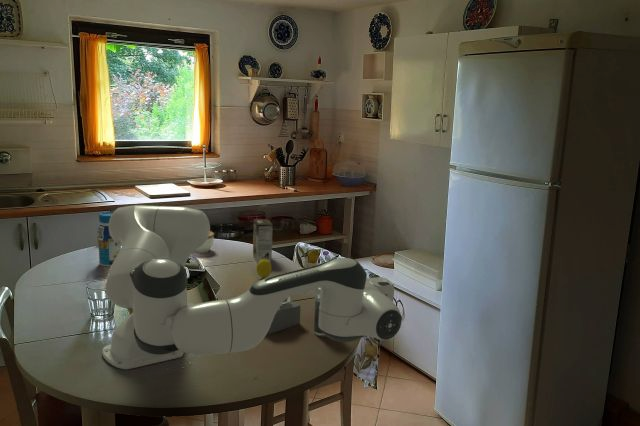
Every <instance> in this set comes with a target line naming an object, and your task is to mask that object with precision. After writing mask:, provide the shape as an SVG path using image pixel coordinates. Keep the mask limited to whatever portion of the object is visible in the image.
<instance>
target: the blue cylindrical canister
mask: <svg viewBox="0 0 640 426" xmlns="http://www.w3.org/2000/svg"><path fill="white" fill-rule="evenodd" d="M113 212H114V211H105V212H100V213H99V215H98V219H99V220H98V222H99V223H100V225H99V226H98V229H97V234H98V235H97V243H98V245H97V246H98V259H99V261H98V263H99V265H100V266H101V267H111V266H112V264H113V262H114V260H115V258H116V257H117V255H118V253H119V251H120V250H121V248H122V246H121V245H120V244H118V243H116V242H115V241H114V240H113V239H112V237H111V235H110V232H109V220H110V217H111V215H112V214H113Z"/></svg>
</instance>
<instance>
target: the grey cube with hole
mask: <svg viewBox="0 0 640 426" xmlns="http://www.w3.org/2000/svg"><path fill="white" fill-rule="evenodd" d="M299 324H301V304H299V303H297V302H295V301H292V300H291V296H289V297H288V298H287V299H286V300H284V302H283V303H282V304H281V305H280V307H279V309H278V310H277V312H276V314H275V316H274V319H273V321H272V323H271V326H270V328H269V331H268V332H267V334H268V335H271V334H274V333H277V332H280V331H282V330H286V329H288V328H292V327H293V326H297V325H299Z"/></svg>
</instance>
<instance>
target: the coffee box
mask: <svg viewBox="0 0 640 426" xmlns="http://www.w3.org/2000/svg"><path fill="white" fill-rule="evenodd" d="M252 221H253V222H252V223H253V226H252V227H253V229H252V231H253V233H252V234H253V235H252V237H253V238H252V246H253V247H252V256H253V259H254V260H255V262H256V263H257V264H258V262H259V261H260V260H261V259H263V258H265V259H267V260H269V261H270V263H272V256H273V255H272V252H273V229H274V228H273V225H274V224H273V223H272V222H271V221H270V220H269V219H268V218H267V219H266V218H265V219H264V218H256V219H255V218H253V219H252Z"/></svg>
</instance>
